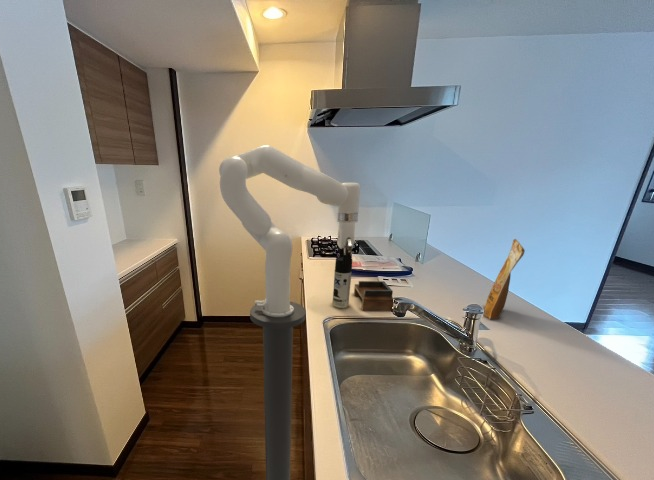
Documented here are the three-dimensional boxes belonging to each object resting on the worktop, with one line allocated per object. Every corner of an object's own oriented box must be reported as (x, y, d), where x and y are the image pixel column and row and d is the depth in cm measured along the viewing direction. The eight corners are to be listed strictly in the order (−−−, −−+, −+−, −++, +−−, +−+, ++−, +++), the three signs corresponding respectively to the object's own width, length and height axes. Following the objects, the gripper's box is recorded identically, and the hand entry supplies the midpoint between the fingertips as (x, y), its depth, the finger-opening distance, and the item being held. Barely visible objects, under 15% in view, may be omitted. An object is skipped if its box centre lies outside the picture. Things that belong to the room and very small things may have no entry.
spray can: (329, 304, 134) (332, 258, 127) (341, 301, 137) (345, 256, 130) (339, 309, 129) (342, 261, 121) (352, 306, 131) (356, 259, 124)
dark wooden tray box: (362, 310, 128) (364, 293, 125) (353, 294, 145) (355, 279, 142) (392, 310, 127) (395, 293, 125) (380, 294, 144) (382, 279, 141)
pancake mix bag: (505, 306, 130) (524, 238, 120) (503, 323, 116) (526, 247, 105) (485, 303, 134) (503, 236, 123) (482, 319, 119) (501, 245, 109)
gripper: (334, 214, 128) (332, 256, 134) (341, 221, 112) (338, 267, 118) (353, 214, 127) (350, 256, 134) (362, 220, 111) (358, 267, 118)
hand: (344, 261), depth 126 cm, fingers open, 9 cm apart
